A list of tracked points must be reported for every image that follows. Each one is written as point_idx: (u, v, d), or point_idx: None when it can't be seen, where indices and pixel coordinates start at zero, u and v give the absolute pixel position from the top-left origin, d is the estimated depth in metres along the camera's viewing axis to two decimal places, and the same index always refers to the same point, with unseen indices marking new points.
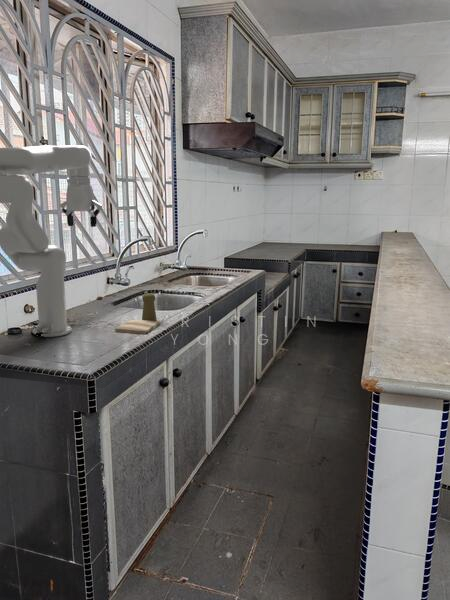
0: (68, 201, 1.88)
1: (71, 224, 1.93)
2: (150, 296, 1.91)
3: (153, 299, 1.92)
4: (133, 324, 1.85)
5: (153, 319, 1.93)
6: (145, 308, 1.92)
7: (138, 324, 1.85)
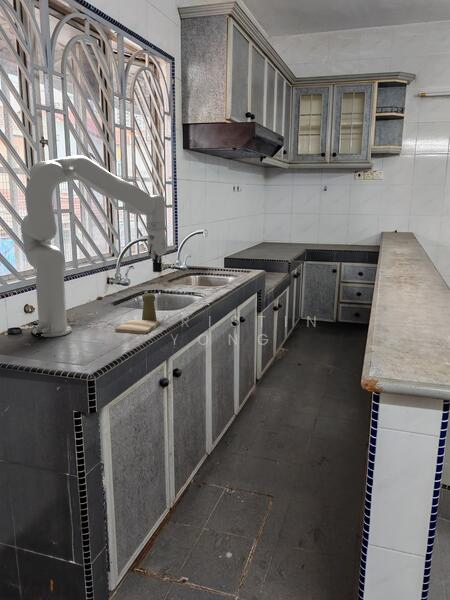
0: (159, 246, 1.93)
1: None
2: (150, 296, 1.91)
3: (153, 299, 1.92)
4: (133, 324, 1.85)
5: (153, 319, 1.93)
6: (145, 308, 1.92)
7: (138, 324, 1.85)
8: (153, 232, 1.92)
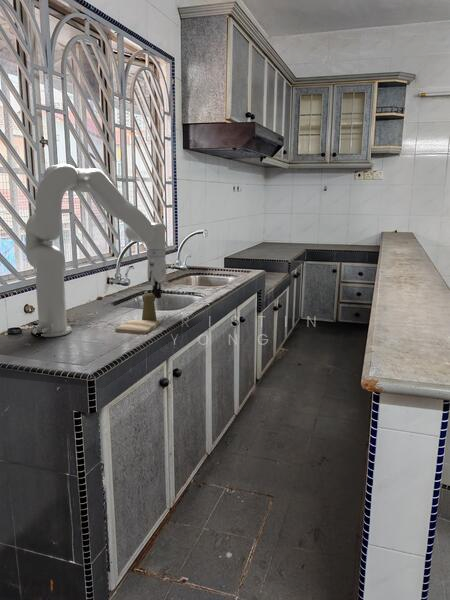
0: (159, 273, 1.95)
1: None
2: (150, 296, 1.91)
3: (153, 299, 1.92)
4: (133, 324, 1.85)
5: (153, 319, 1.93)
6: (145, 308, 1.92)
7: (138, 324, 1.85)
8: (153, 259, 1.94)
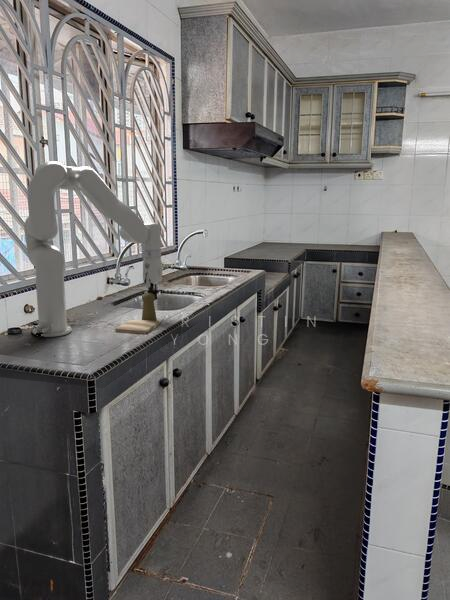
0: (155, 275, 1.90)
1: None
2: (150, 296, 1.90)
3: (153, 299, 1.91)
4: (133, 324, 1.85)
5: (153, 319, 1.93)
6: (145, 308, 1.91)
7: (138, 324, 1.85)
8: (148, 260, 1.89)
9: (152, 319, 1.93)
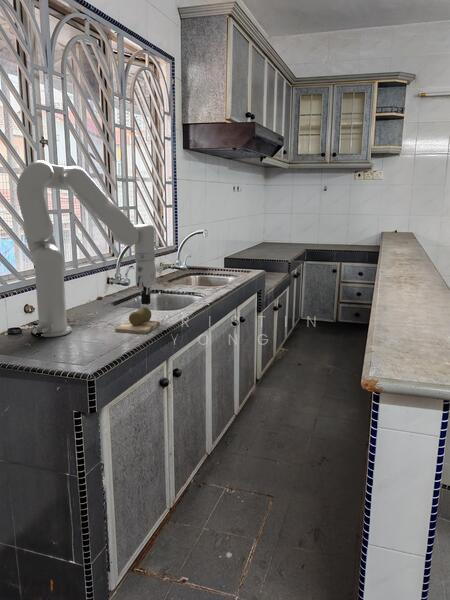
0: (148, 278, 1.84)
1: None
2: (140, 321, 1.82)
3: (142, 317, 1.83)
4: None
5: (150, 315, 1.91)
6: None
7: None
8: (141, 263, 1.83)
9: (150, 316, 1.91)
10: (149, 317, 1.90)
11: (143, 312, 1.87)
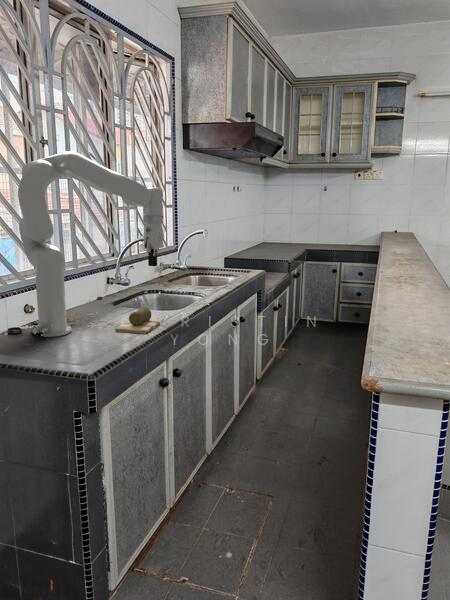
0: (155, 239, 1.90)
1: None
2: (140, 321, 1.82)
3: (142, 317, 1.83)
4: None
5: (150, 315, 1.91)
6: None
7: None
8: (149, 225, 1.88)
9: (150, 316, 1.91)
10: (149, 317, 1.90)
11: (143, 312, 1.87)
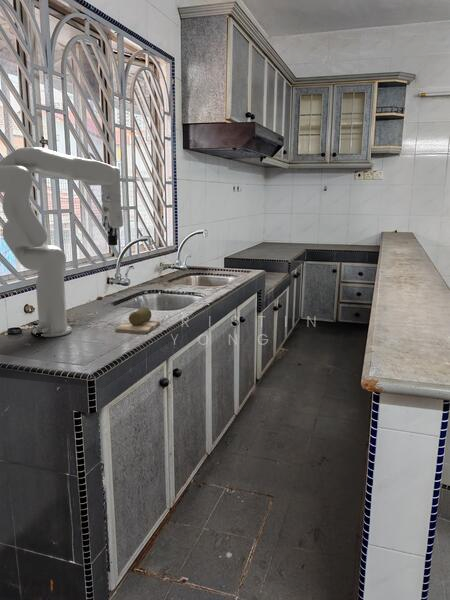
0: (113, 218, 1.91)
1: None
2: (140, 321, 1.82)
3: (142, 317, 1.83)
4: None
5: (150, 315, 1.91)
6: None
7: None
8: (107, 204, 1.89)
9: (150, 316, 1.91)
10: (149, 317, 1.90)
11: (143, 312, 1.87)
